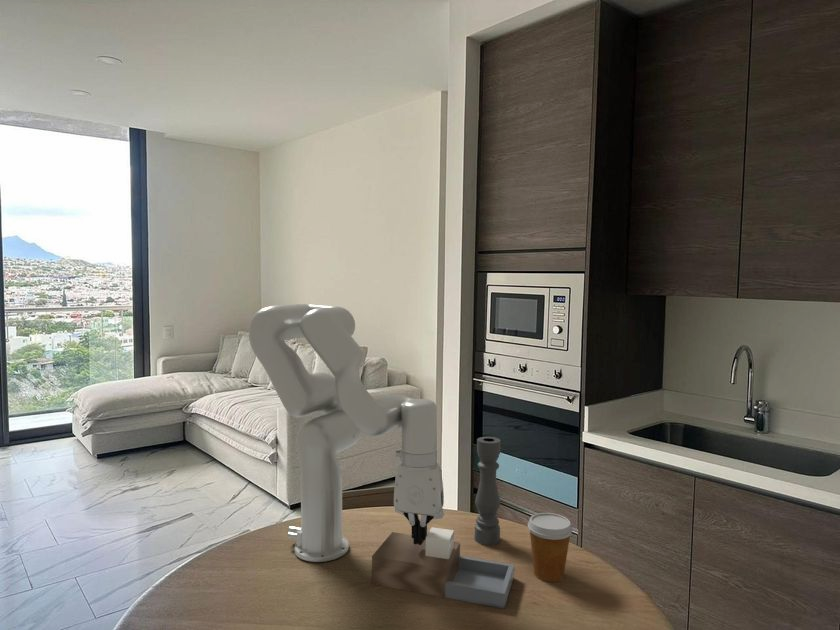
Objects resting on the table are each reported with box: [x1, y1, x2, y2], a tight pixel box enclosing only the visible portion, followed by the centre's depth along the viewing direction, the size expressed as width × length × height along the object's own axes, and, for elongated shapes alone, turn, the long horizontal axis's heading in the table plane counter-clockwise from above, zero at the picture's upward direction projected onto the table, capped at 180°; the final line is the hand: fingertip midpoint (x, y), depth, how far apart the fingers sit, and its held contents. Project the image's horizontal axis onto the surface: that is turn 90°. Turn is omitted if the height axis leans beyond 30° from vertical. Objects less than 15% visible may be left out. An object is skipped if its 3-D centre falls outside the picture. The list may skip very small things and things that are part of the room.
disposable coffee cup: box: [527, 512, 573, 583], centre depth 123 cm, size 10×10×12 cm
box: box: [444, 555, 515, 610], centre depth 118 cm, size 12×12×3 cm
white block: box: [425, 527, 455, 559], centre depth 121 cm, size 5×5×4 cm
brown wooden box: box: [371, 531, 461, 598], centre depth 122 cm, size 16×12×6 cm
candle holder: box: [474, 436, 501, 546], centre depth 139 cm, size 6×6×25 cm
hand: (419, 541), depth 122 cm, fingers closed
